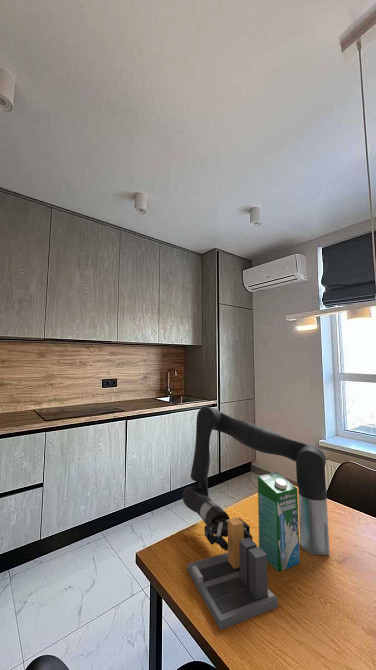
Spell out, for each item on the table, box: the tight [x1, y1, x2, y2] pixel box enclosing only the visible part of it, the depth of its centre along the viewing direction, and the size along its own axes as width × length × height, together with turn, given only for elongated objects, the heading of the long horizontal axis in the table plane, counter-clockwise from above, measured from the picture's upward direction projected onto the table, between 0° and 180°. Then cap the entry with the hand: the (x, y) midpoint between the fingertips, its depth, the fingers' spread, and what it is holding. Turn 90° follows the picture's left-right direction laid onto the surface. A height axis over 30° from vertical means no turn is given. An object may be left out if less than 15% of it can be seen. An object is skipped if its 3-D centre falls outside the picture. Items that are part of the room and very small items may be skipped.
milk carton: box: [257, 471, 301, 573], centre depth 91 cm, size 9×9×25 cm
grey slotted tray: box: [187, 538, 279, 631], centre depth 79 cm, size 17×20×12 cm
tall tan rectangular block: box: [227, 517, 244, 569], centre depth 85 cm, size 4×4×12 cm
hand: (239, 544), depth 83 cm, fingers open, 8 cm apart
